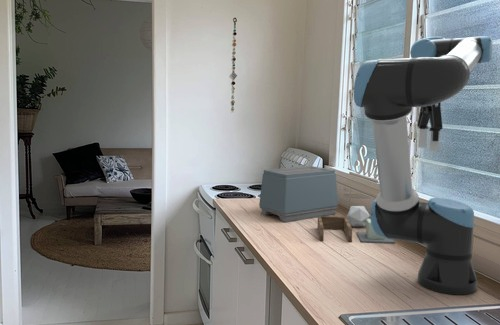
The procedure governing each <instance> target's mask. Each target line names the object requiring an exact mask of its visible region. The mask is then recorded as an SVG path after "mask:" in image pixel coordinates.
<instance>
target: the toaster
mask: <svg viewBox="0 0 500 325" xmlns="http://www.w3.org/2000/svg"><path fill="white" fill-rule="evenodd" d="M336 175H337V174H336V170H335V169H332V168H331V169H330V168H324V167H317V166H311V165H310V166H309V165H308V166H307V165H306V166H297V167H296V166H295V167H285V168H273V169H263V172H262V178H261V187H260V196H259V203H258V205H259V209H260V210H261V211H260V212H261V213H260V214H261V215H262V214H263V216H270V215H269V214H271V215H276V216H278V217H279V219H280V221H281V222H282V223H289V222H296V221H302V220H308V219H315V218H318V216H333V215H334V216H335V215H336V213H337V212H336V210H337V209H338V206H339V200H338V190H337V189H338V188H337V187H338V186H337V176H336Z"/></svg>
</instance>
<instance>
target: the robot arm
mask: <svg viewBox="0 0 500 325" xmlns="http://www.w3.org/2000/svg"><path fill="white" fill-rule="evenodd" d="M409 51H410V54H409V55H410V57H408V58H407V57H402V58H400V57H399V58H378V59H371V60H370V59H369V60H366V61H364V62H363V63H362V64H361V65H360V66H359V68H358V70H357V73H356V74H355V78H354V85H353V100H354V104H355V106H356V107H360V108H363V109H364V110H363V111H364V115H365V118H367V119H368V120H370V121H371V123H372V124H371V125H372V132H373V140H374V149H375V157H376V167H377V173H378V174H377V175H378V181H379V190H380V191H379V192H378V194H377V195H376V198H374V199H373V201H372V203H371V206H370V219H371V224H372V228H373V230H374V232H375V233H376V234H377V235H379V236H381V237H385V238H388V239H393V240H397V241H403V242H409V243H417V244H423V245H425V255H424V257H423V260H422V262H421V265H420V267H419V270H418V271H417V272H418V273H417V282H418V283H419V284H420V285H421V286H422V287H424V288H426V289H428V290H430V291H434V292H438V293H442V294H447V295H467V294H468V295H469V294H473V293H475V292H476V291H477V290H478V289H477V288H478V279H477V276H476V272H475V269H474V268H475V267H474V264H473V262H472V254H473V242H474V241H473V239H474V228H475V226H476V225H475V212H474V210H473V208H472V207H471V206H469V205H468V204H466V203H464V202H461V201H457V200H453V199H449V198H440V197H431V198H429V200H428V201H427V202H425V201H420V197H419V194H418V193H417V191H416V190H414V189H413V181H412V180H413V179H412V169H411V168H412V167H411V158H410V157H411V156H410V155H411V154H410V145H409V144H410V143H409V132H408V120H407V117H408V116H409V115H410V114H411V113H412V111H413V108H419V114H418V120H417V124H416V125H417V127H418V139H417V140H418V141H417V142H418V143H417V147H418V149H420V148H425V149H426V148H429V149H428V150H429V152H439V148H440V135H441V134H440V132H441V130H442V129H443V121H442V120H443V118H442V117H443V116H442V109H441V108H442V107H441V105H442V104H441V102H444V101H446V100H449V99H451V98H452V97H454V96H456V95H458V94H459V93H460V92H461V91H462V90H463V89H464V88H465V87H466V86H467V84H468V82H469V80H470V77H471V71H472V70H473V69H474V68H475V66H476V65H477V64H484V63H489V62H490V61H491V60H492V56H493V38H492V37H491V36H482V35H481V36H480V35H478V36H471V37H470V36H469V37H460V38H456V37H455V38H445V37H443V36H428V37H424V38H421V39H418V40H416V41H414V42H413V44H412V45H411V47H410V50H409ZM429 122H430V128H429V126H428V124H429ZM428 131H429V147H428V146H427V145H428Z"/></svg>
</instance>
